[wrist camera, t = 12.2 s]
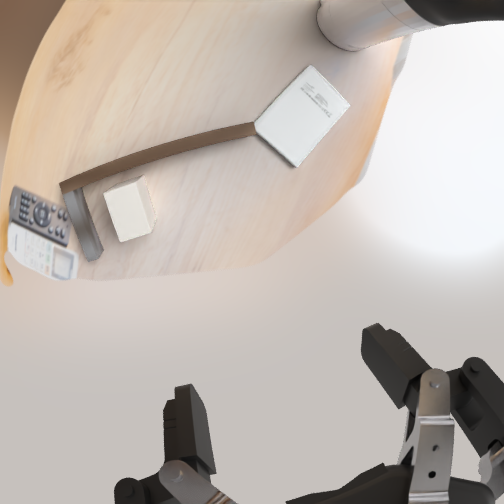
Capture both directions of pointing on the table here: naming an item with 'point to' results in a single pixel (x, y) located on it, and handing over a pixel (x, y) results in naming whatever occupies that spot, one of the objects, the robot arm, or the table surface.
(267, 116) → the external hard drive
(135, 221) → the block
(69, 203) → the guide fence
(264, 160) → the table surface
